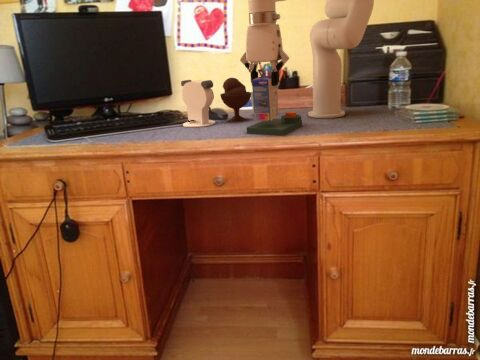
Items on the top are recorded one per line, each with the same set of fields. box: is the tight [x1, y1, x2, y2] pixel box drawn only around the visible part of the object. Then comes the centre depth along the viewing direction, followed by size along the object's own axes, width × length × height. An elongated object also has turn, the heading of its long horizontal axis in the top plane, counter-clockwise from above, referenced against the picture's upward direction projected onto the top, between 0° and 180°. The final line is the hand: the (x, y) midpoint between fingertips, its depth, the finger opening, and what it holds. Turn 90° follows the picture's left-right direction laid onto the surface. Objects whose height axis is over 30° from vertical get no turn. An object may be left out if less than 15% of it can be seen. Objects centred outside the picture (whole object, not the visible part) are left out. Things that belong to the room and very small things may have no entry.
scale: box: [246, 114, 303, 137], centre depth 120 cm, size 15×13×4 cm
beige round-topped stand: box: [180, 79, 216, 128], centre depth 134 cm, size 12×11×15 cm
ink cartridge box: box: [251, 68, 280, 122], centre depth 116 cm, size 10×6×14 cm, turn 161°
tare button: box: [285, 111, 297, 117], centre depth 121 cm, size 3×3×2 cm
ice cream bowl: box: [220, 77, 251, 123], centre depth 136 cm, size 11×11×15 cm
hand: (264, 84), depth 115 cm, fingers closed on ink cartridge box, 5 cm apart
